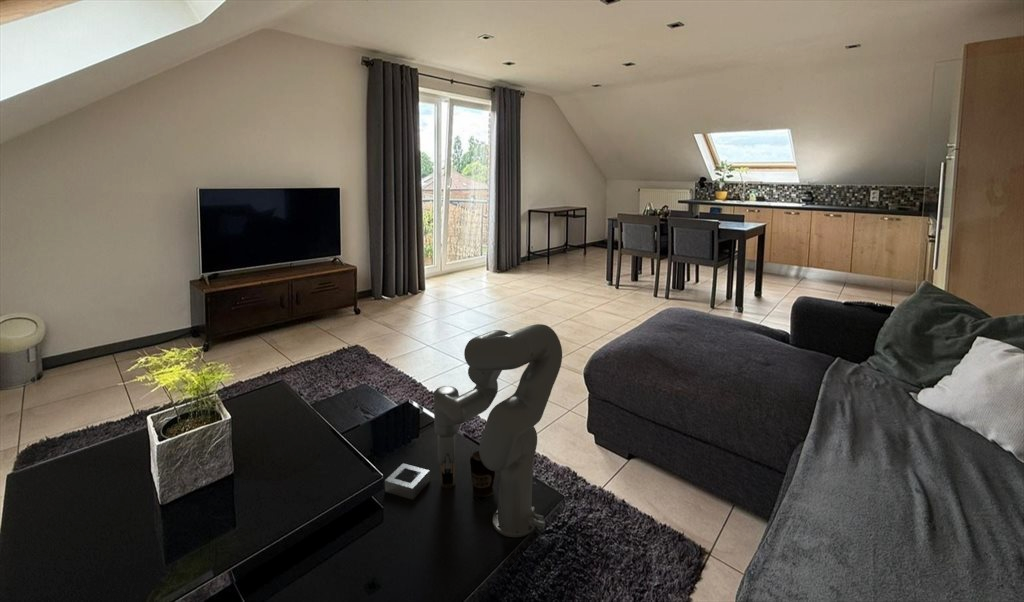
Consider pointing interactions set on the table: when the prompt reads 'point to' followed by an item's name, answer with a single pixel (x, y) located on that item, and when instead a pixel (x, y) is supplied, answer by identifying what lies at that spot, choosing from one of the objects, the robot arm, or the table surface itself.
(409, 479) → the white square frame block
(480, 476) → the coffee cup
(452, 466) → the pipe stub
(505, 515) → the robot arm
